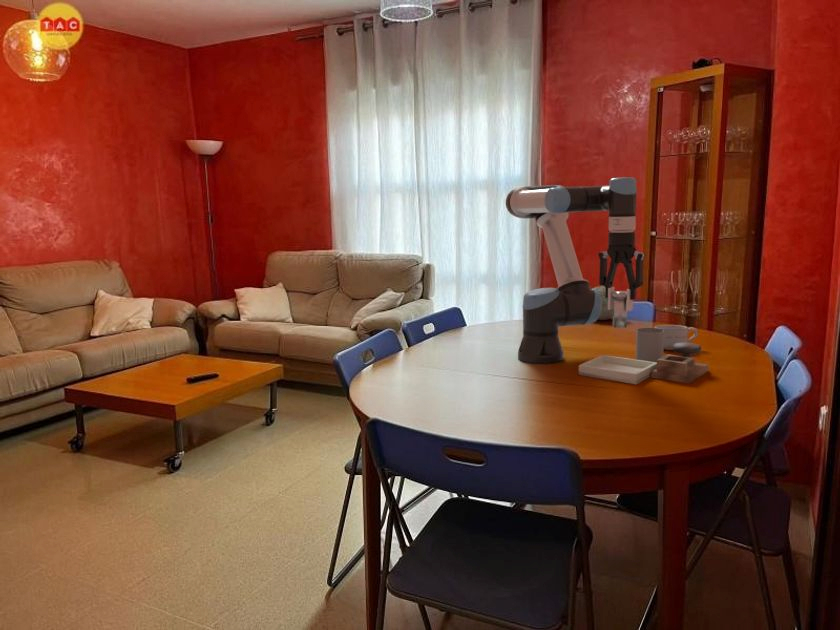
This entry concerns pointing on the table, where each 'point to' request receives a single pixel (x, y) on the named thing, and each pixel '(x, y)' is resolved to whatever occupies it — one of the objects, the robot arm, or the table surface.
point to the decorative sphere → (604, 305)
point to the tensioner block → (680, 364)
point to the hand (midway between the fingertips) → (620, 309)
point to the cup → (649, 344)
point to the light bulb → (619, 309)
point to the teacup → (675, 335)
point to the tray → (618, 369)
